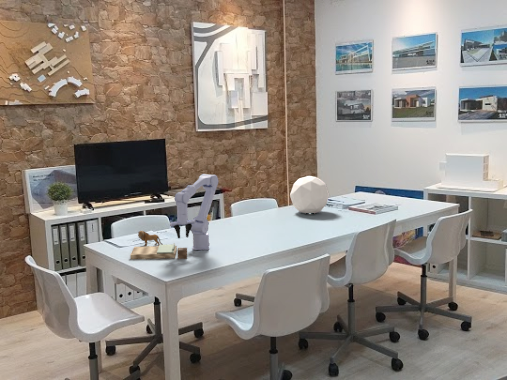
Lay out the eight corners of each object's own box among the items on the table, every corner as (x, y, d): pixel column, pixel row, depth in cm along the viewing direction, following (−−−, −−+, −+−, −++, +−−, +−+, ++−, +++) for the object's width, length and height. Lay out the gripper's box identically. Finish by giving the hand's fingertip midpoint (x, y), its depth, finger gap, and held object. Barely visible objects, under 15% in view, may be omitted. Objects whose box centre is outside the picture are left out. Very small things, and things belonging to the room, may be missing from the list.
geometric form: (315, 228, 423) (317, 201, 401) (282, 210, 435) (283, 183, 414) (334, 205, 439) (338, 178, 417) (302, 189, 451) (304, 162, 429)
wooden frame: (176, 250, 324) (176, 245, 323) (175, 258, 307) (174, 253, 307) (134, 251, 322) (134, 246, 322) (130, 259, 305) (130, 254, 305)
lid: (175, 245, 323) (175, 242, 323) (173, 252, 307) (173, 249, 307) (159, 245, 322) (159, 242, 322) (156, 253, 306) (156, 250, 306)
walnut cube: (187, 256, 311) (187, 247, 310) (186, 258, 306) (186, 249, 305) (178, 256, 311) (177, 247, 310) (177, 259, 306) (177, 250, 305)
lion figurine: (137, 246, 332) (137, 231, 331) (139, 244, 338) (138, 229, 336) (162, 246, 332) (162, 231, 331) (163, 244, 338) (163, 229, 336)
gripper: (192, 211, 319) (192, 234, 321) (167, 213, 312) (168, 237, 315) (196, 213, 312) (197, 237, 315) (171, 216, 306) (172, 240, 308)
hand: (183, 237), depth 314 cm, fingers open, 4 cm apart
